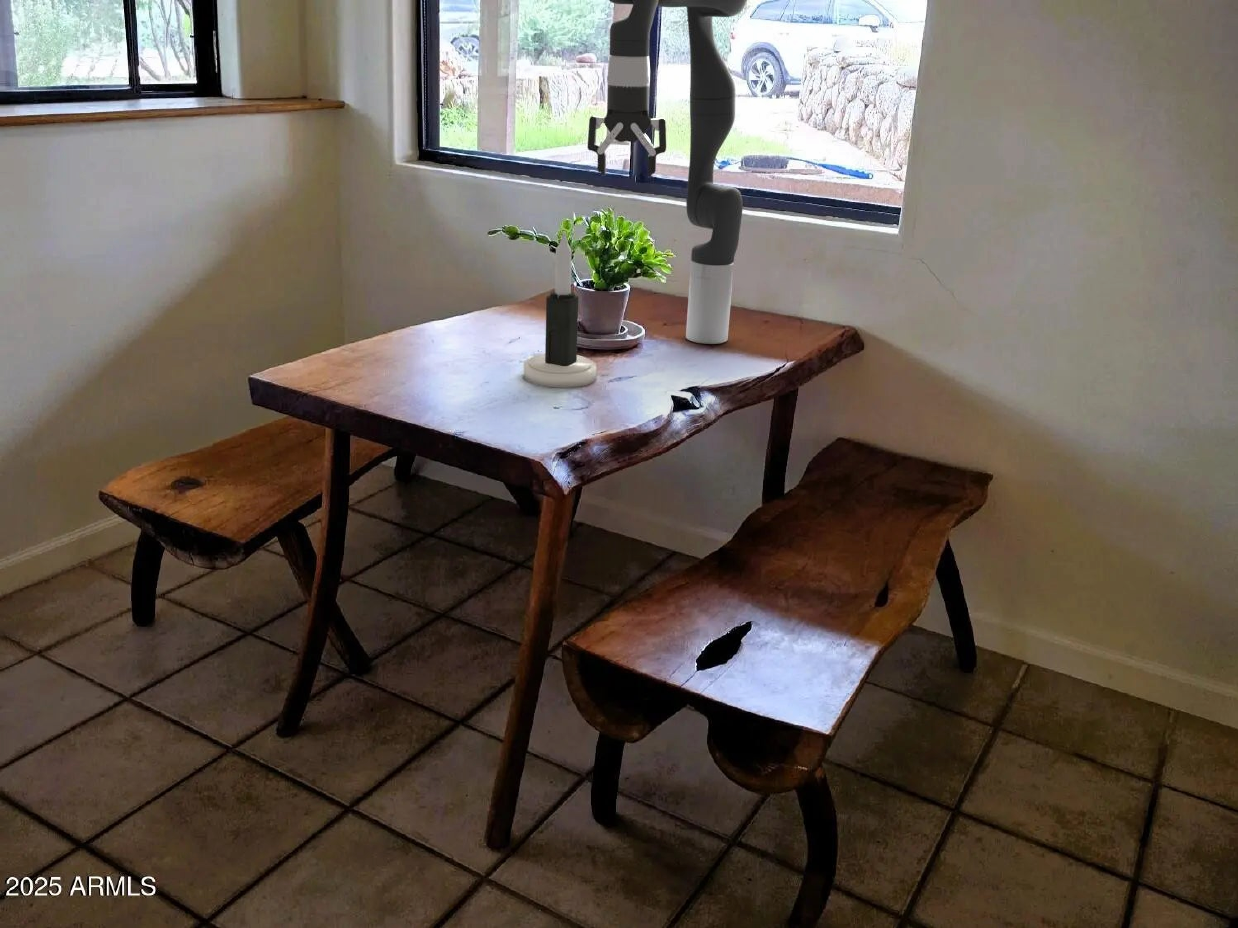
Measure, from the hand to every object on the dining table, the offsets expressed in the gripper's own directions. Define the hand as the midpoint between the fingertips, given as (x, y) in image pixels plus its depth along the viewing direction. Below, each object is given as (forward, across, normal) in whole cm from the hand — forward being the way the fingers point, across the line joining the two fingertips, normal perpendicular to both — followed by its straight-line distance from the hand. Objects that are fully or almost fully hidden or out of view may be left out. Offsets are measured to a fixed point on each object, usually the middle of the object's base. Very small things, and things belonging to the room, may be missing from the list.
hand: (626, 175), depth 207 cm
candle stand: (+38, +12, +5) cm, 40 cm away
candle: (+35, +11, +5) cm, 37 cm away
